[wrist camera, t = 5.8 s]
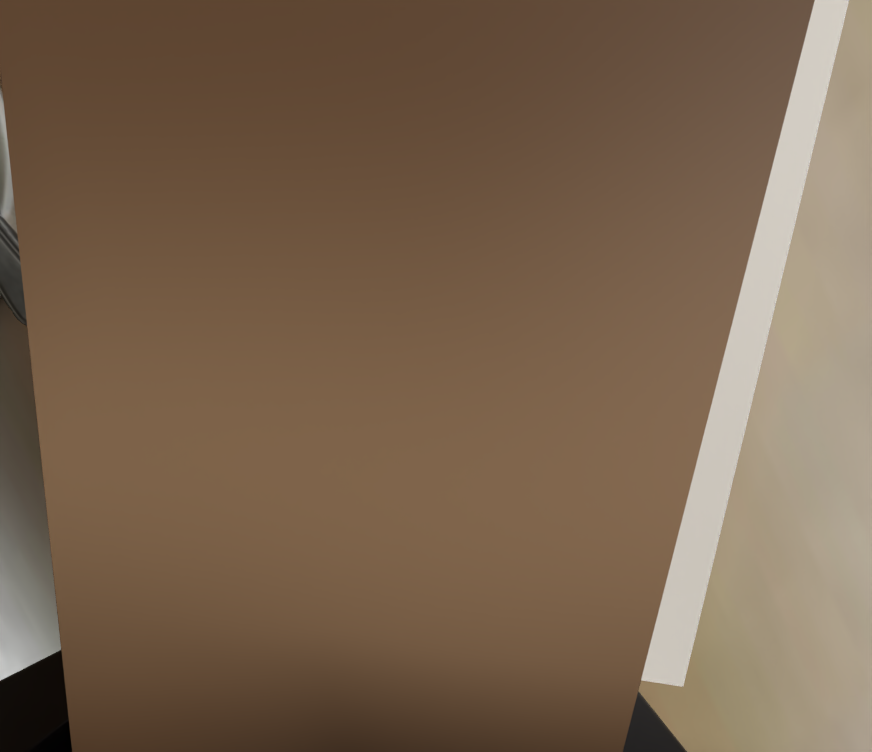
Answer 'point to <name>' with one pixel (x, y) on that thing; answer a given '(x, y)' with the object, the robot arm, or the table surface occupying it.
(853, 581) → the table surface
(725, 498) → the mounting board
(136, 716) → the walnut rail
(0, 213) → the salad plate
